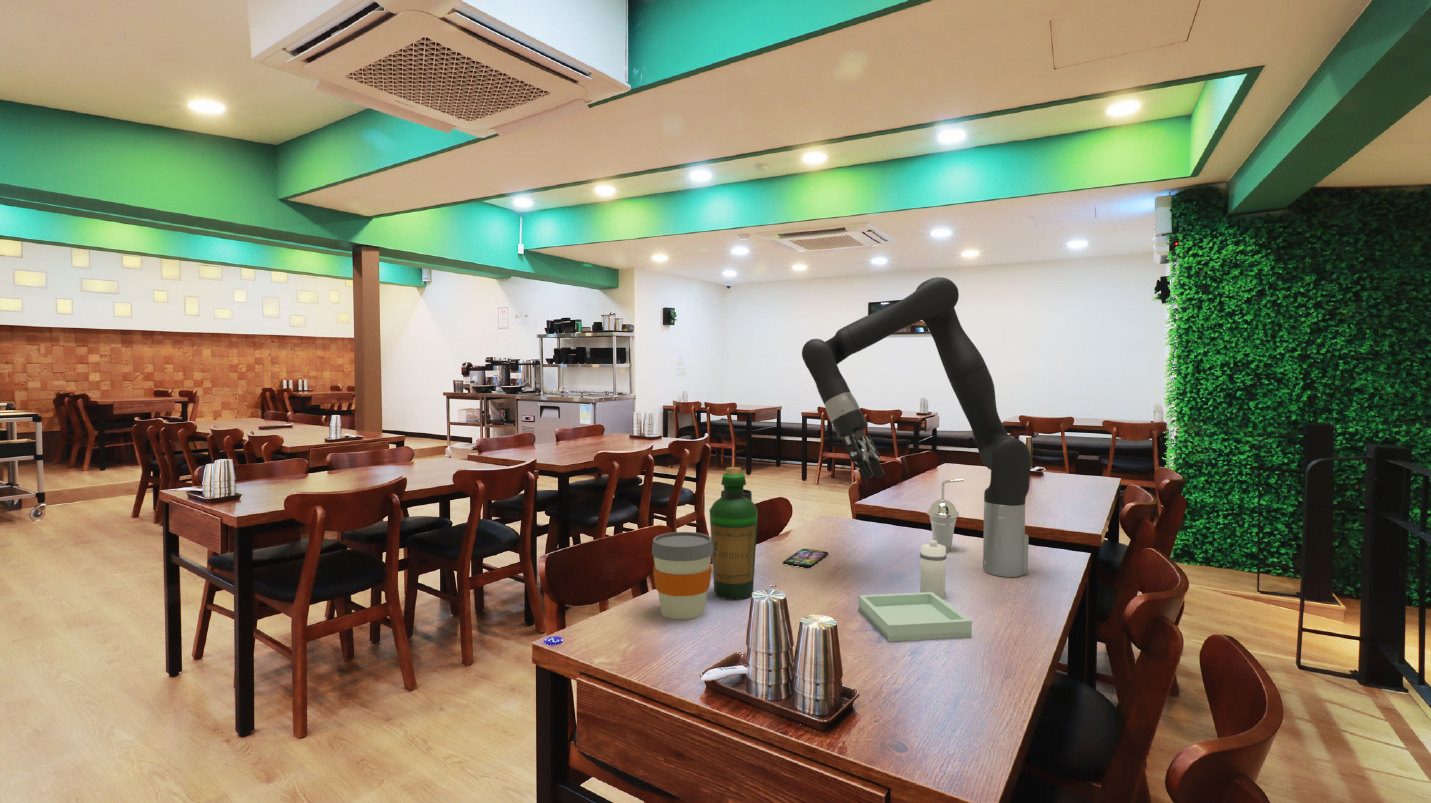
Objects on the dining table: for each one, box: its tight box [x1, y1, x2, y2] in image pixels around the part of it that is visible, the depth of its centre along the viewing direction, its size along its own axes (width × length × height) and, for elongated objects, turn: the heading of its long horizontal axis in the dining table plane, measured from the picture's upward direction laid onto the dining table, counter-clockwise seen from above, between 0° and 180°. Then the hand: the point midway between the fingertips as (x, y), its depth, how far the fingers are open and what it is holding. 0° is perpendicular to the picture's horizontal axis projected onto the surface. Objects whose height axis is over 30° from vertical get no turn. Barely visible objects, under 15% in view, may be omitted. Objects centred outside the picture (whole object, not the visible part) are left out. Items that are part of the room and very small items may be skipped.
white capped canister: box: [919, 539, 947, 600], centre depth 143 cm, size 6×6×12 cm
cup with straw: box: [926, 478, 964, 552], centre depth 180 cm, size 8×9×20 cm
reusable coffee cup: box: [651, 531, 713, 621], centre depth 134 cm, size 13×13×15 cm
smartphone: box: [782, 548, 829, 569], centre depth 171 cm, size 8×1×15 cm
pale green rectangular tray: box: [858, 592, 973, 643], centre depth 128 cm, size 16×16×3 cm
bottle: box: [709, 466, 759, 600], centre depth 144 cm, size 11×11×28 cm
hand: (875, 477), depth 152 cm, fingers open, 8 cm apart
